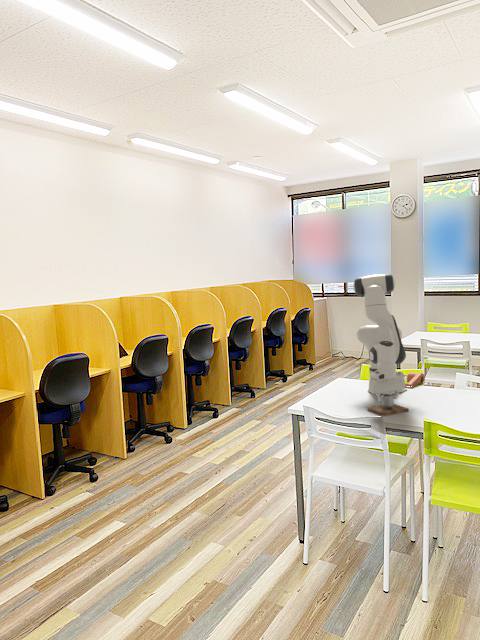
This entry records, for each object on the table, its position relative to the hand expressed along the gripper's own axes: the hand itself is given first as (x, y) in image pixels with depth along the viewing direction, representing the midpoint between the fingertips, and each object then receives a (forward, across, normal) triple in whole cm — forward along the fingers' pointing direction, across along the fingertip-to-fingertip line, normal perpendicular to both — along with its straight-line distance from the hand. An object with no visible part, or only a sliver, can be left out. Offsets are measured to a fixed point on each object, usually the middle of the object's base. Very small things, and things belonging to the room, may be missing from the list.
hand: (387, 400), depth 247 cm
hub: (+2, 0, 0) cm, 3 cm away
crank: (+6, -46, -36) cm, 59 cm away
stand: (+6, 0, 0) cm, 6 cm away
